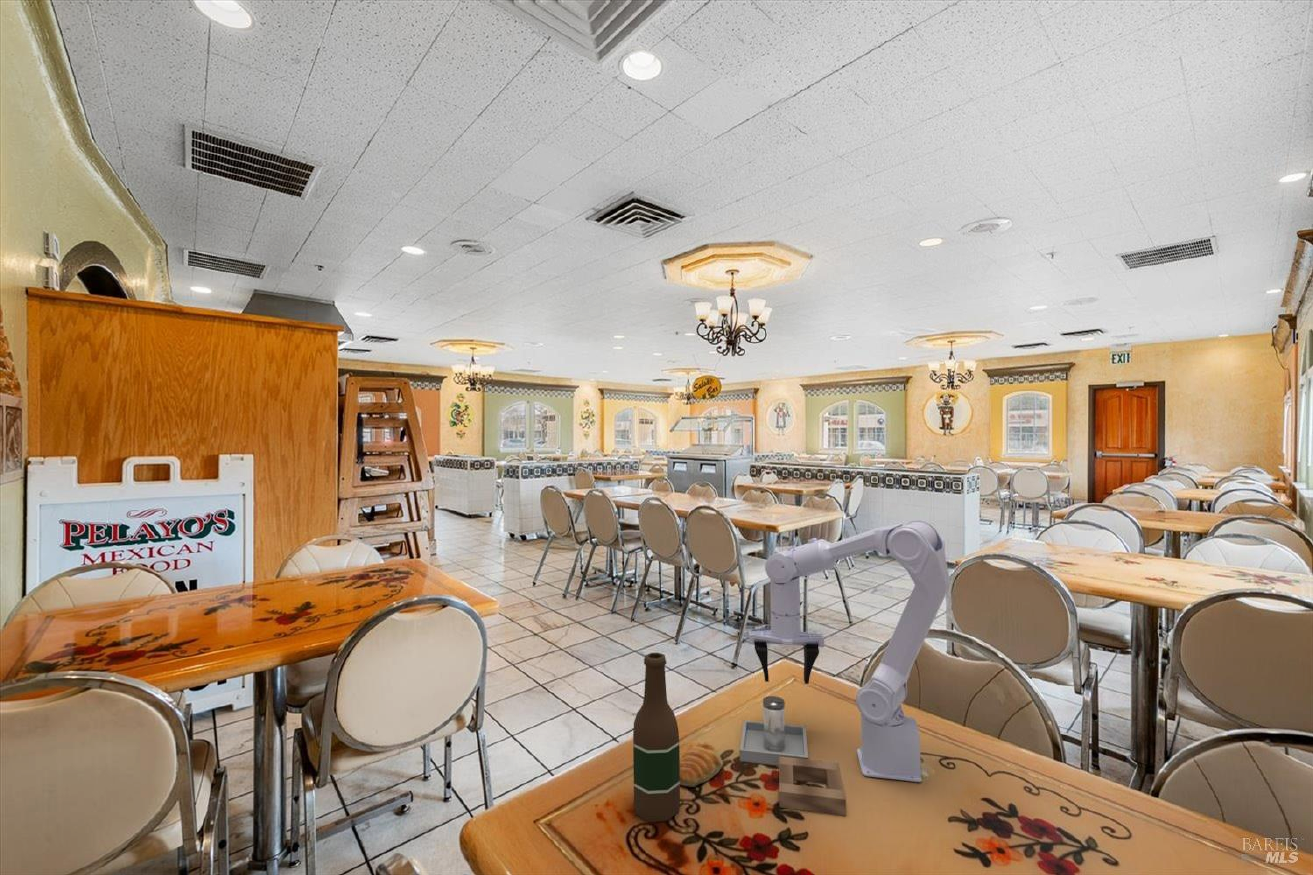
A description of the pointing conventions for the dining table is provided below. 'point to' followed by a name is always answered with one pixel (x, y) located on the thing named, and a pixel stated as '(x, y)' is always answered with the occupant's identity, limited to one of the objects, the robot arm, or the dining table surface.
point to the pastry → (699, 764)
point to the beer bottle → (656, 748)
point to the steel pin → (774, 723)
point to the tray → (757, 753)
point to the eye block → (811, 796)
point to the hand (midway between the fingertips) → (786, 680)
